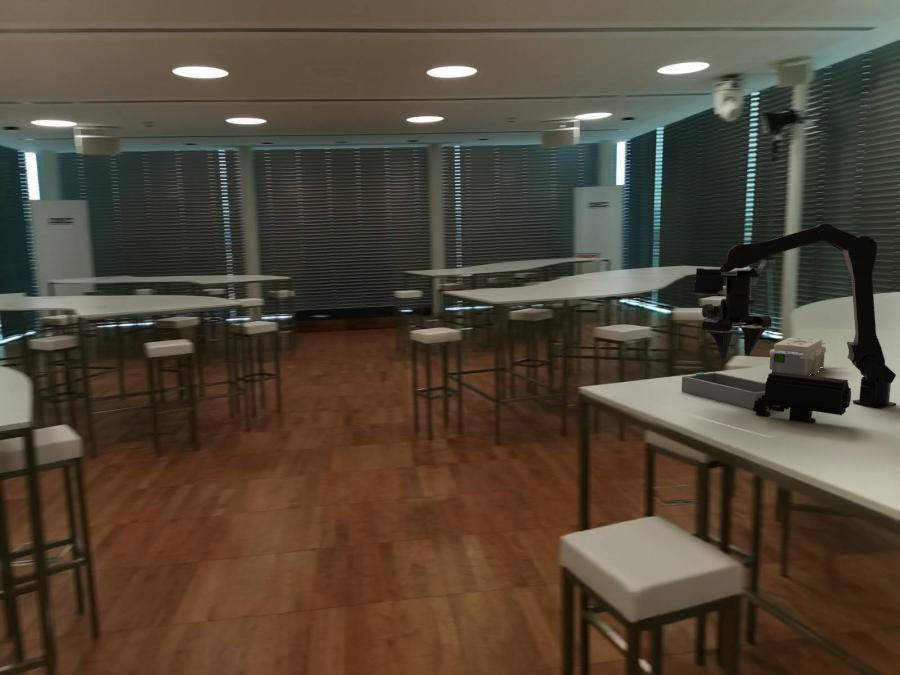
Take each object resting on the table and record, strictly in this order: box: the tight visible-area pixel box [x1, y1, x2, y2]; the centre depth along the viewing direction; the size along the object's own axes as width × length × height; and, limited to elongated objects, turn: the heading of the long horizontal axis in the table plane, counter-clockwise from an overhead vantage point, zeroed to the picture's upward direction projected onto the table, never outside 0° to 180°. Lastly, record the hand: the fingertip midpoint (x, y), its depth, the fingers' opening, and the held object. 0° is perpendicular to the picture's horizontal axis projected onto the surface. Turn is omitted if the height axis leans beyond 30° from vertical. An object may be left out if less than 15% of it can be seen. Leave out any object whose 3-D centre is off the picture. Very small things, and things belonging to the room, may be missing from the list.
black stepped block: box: [752, 371, 852, 425], centre depth 137 cm, size 7×18×10 cm, turn 47°
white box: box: [768, 337, 827, 376], centre depth 186 cm, size 12×28×10 cm, turn 138°
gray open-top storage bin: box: [681, 372, 776, 410], centre depth 159 cm, size 12×23×4 cm, turn 26°
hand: (735, 356), depth 158 cm, fingers open, 8 cm apart
